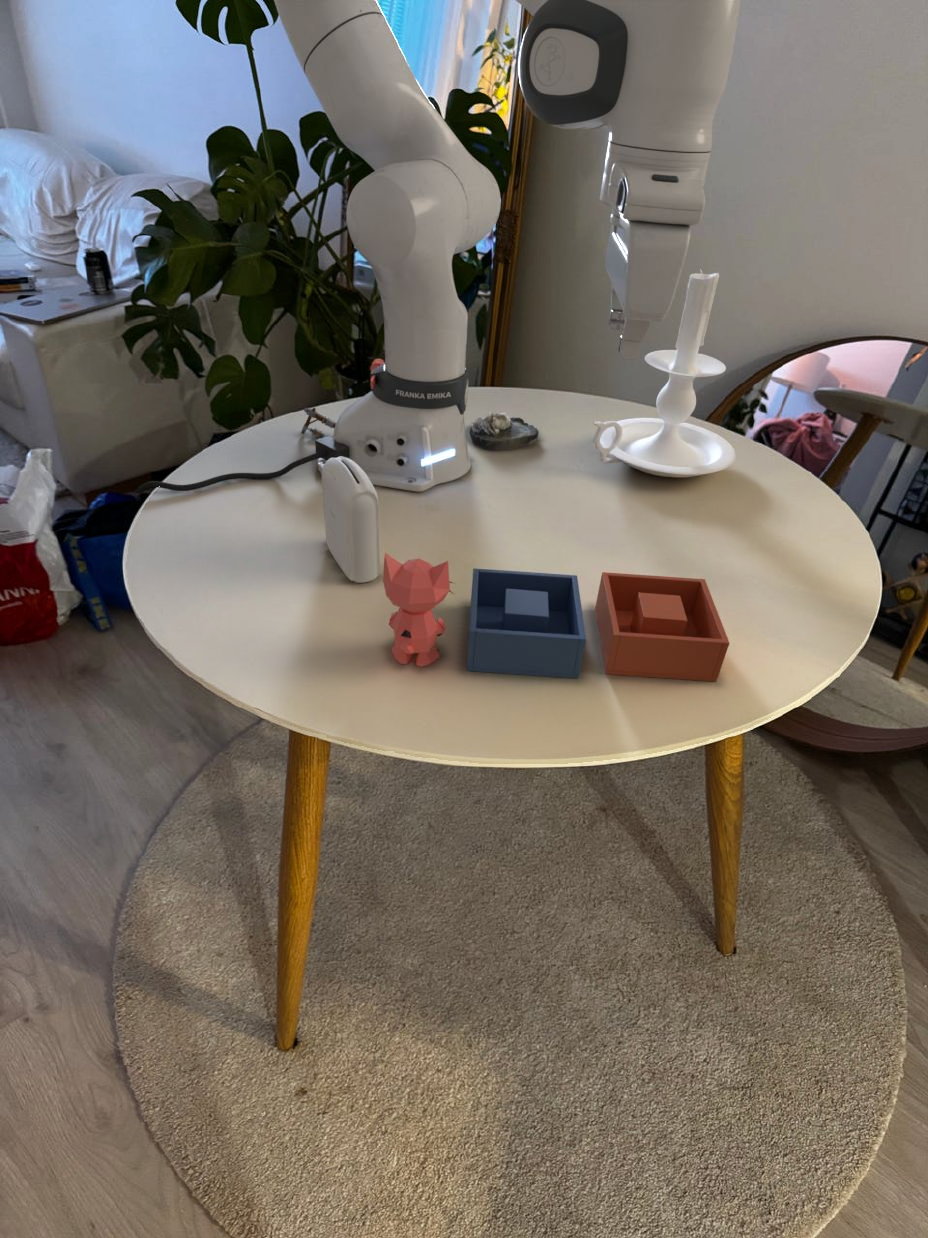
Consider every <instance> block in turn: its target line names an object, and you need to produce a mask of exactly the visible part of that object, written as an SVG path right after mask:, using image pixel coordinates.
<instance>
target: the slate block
mask: <svg viewBox="0 0 928 1238" xmlns="http://www.w3.org/2000/svg"><path fill="white" fill-rule="evenodd" d="M548 620H549V607H548V592H542V591H530V590H518V589H506V592H505V601H504V610H503V620H502V630H507V631H522V632H536V633H547V626H548Z"/></svg>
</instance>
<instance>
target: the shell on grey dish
mask: <svg viewBox="0 0 928 1238" xmlns="http://www.w3.org/2000/svg"><path fill="white" fill-rule="evenodd" d="M469 435H470V438H471V441H472V443H473V444H474V445H476V446H478V447H480V448H482V449H485V450H488V451H506V450H513V449H519V448H524V447H527V446H530V445H532V444H533V443H535V442H536V441H537V440H538V438H539V430H538V429H537V427H535V426H534V425H533V424H530V425H529V423H528V422H525V420H524V419H523V418H521V417H514V416H512V417H509V416H508V415H507V414H506V412H501V411H500V412H497V411H495V412H492V411H488V413H487V415H486V416H485V417H483V418H482V417H481V416H479V417H478V418H477V419H475V420H474V421H472V422H471V426H470V429H469Z"/></svg>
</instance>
